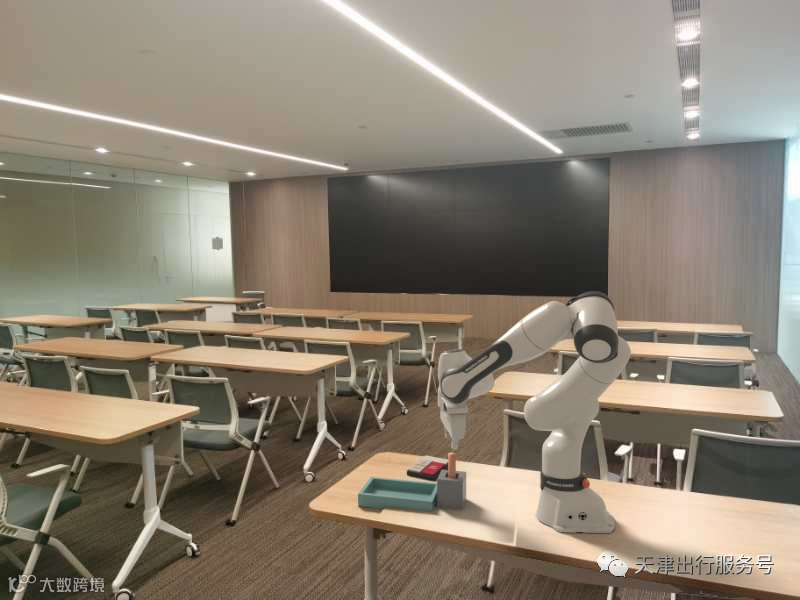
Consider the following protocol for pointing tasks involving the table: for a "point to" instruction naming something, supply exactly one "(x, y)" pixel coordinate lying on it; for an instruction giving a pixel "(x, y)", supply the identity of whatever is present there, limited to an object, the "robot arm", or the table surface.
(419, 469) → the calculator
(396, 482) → the tray
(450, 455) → the dowel pin
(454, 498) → the grey pencil holder
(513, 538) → the table surface
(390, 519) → the table surface
